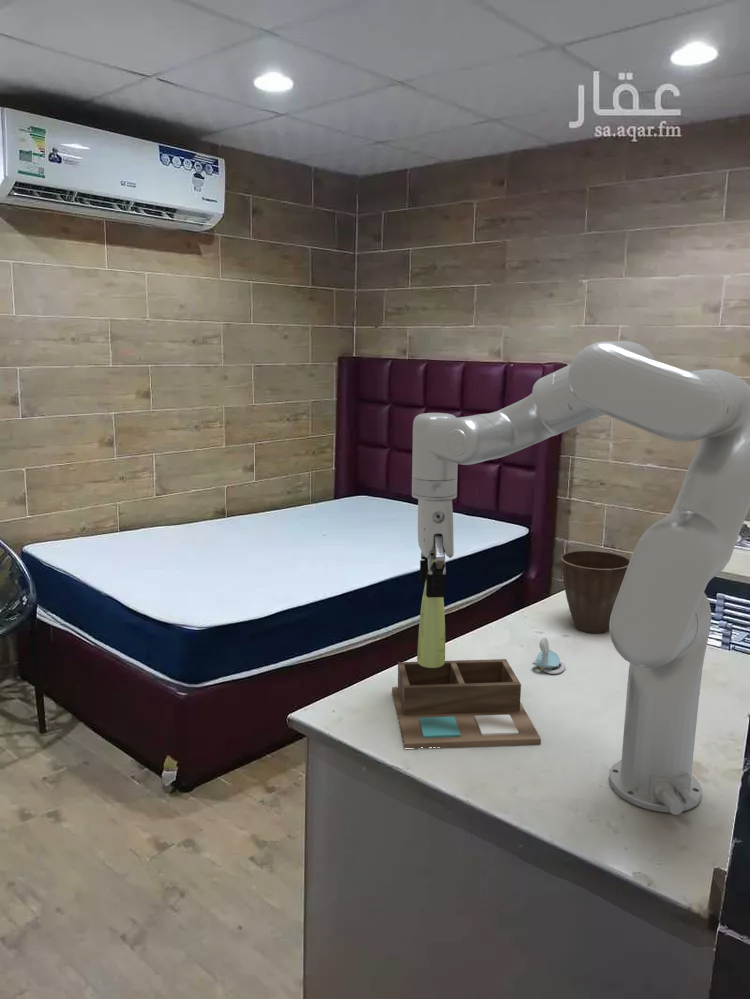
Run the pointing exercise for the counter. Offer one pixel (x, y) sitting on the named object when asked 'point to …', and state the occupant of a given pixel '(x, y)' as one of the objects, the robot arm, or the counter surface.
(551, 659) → the pacifier
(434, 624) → the tube
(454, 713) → the brown wooden desk organizer
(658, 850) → the counter surface
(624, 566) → the plant pot
